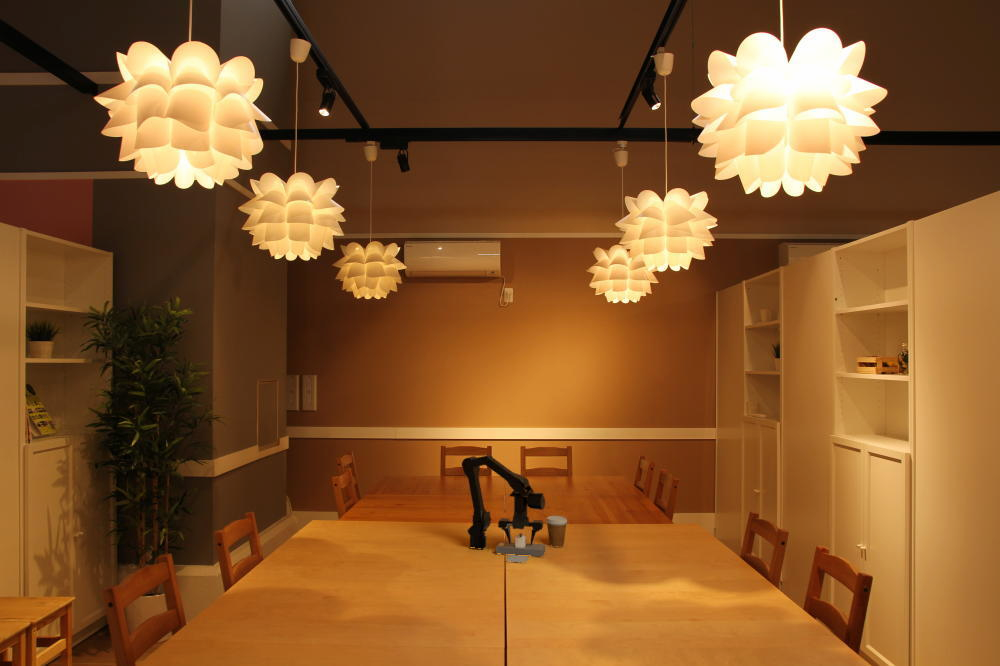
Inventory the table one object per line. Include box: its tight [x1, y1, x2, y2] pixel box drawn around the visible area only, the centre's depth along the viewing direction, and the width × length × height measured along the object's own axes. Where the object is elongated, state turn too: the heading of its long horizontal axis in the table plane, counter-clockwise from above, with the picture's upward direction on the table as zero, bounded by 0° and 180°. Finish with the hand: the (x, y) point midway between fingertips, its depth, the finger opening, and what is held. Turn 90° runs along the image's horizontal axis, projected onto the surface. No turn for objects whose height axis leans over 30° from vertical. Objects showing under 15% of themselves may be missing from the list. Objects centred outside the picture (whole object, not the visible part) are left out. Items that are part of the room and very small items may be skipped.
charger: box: [514, 533, 527, 548], centre depth 260 cm, size 4×4×8 cm
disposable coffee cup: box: [545, 515, 568, 547], centre depth 272 cm, size 10×10×12 cm
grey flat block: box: [495, 541, 546, 557], centre depth 260 cm, size 20×8×4 cm, turn 79°
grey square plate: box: [505, 555, 529, 563], centre depth 251 cm, size 8×8×1 cm
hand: (520, 544), depth 260 cm, fingers open, 9 cm apart
